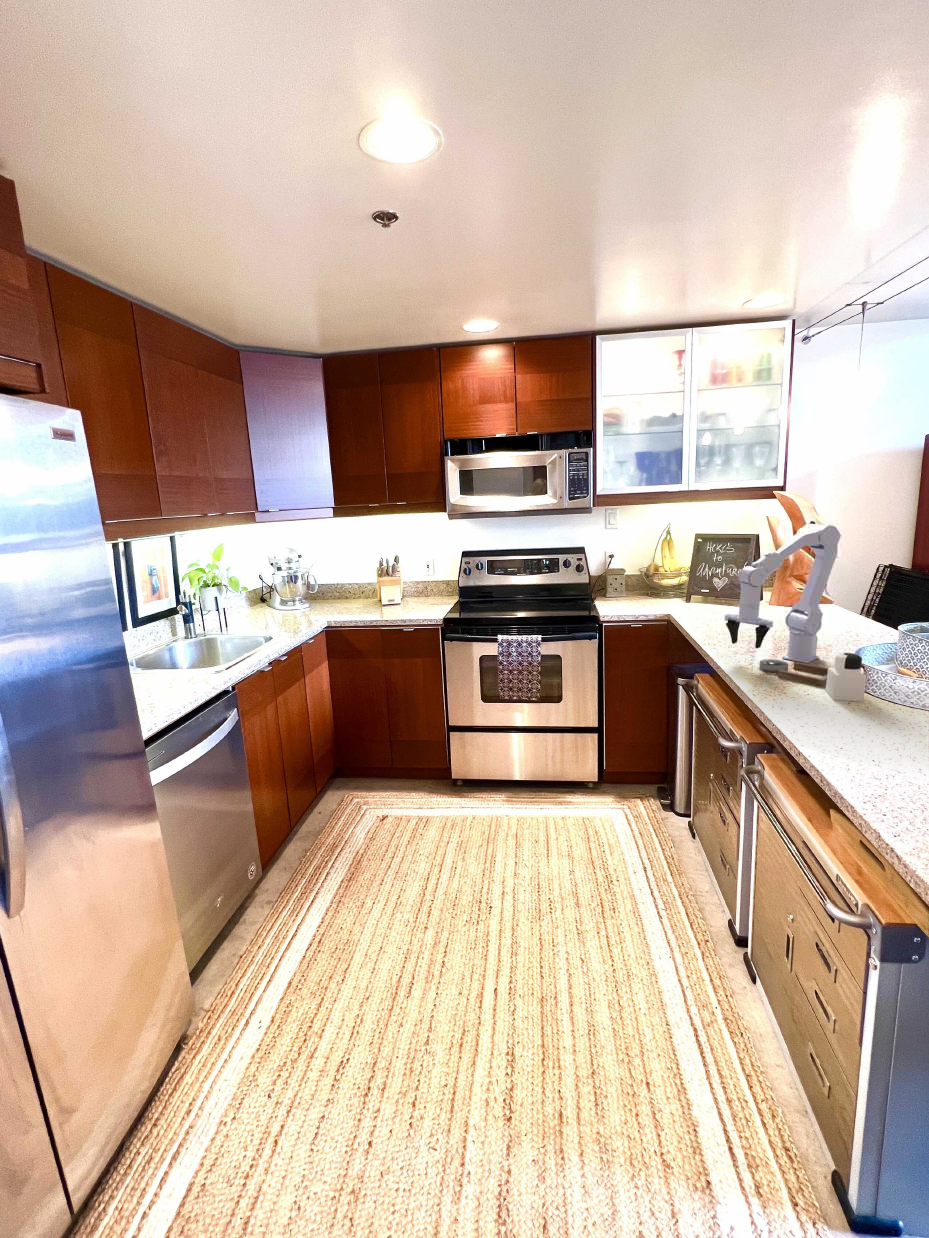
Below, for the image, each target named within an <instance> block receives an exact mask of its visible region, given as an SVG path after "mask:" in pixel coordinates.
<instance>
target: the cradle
mask: <svg viewBox="0 0 929 1238" xmlns="http://www.w3.org/2000/svg"><path fill="white" fill-rule="evenodd" d="M828 668H829V667H828ZM828 668H827V667H823V666H818V665H814V664H813V665H812V664H810V663H804V662H799V661H794V662H793V670H798V671H803V672H808V673H813V674H818V675H823V676H821V677H816V676H811V675H807V674H800V673H796V672H792V671H789V670H788V671H783V670H779V671H778V674H777V677H778V678H780V679H785V680H790V681H795V682H799V683H802V684H807V685H813V686H816V687H821V688H823V687H825V686H826V682H827V674H828Z"/></svg>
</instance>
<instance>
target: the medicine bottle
mask: <svg viewBox="0 0 929 1238" xmlns="http://www.w3.org/2000/svg"><path fill="white" fill-rule="evenodd" d="M862 663H863V658H862V657H861V656H860V655H858V654H856V653H851V652H840V653H836V655H835V658H834V666H833V667H828V674H827V682H826V685H825V692H826V694H828V695H829V696H830V697H831V699H832V700H834V701H844V702H847V701H848V702H864V699H865V691H866V690H865V689H866V685H867V684H866V683H867V676H866V675H864V674H863V673H862V672H861V670H862Z"/></svg>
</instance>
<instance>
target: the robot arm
mask: <svg viewBox="0 0 929 1238" xmlns="http://www.w3.org/2000/svg"><path fill="white" fill-rule="evenodd" d="M841 537H842V534H841V533H840V531H839V529H838V528H837V527H836V526H835V525H832V524H827V525H826V524H815V523H807V524H805V525H804V526H803V527H801V528H799V529H798V530H797V533H796V534H795V535H793V536H792V537H791V538H790V539H789V540H788V541H787V542H785V543H784V544H783V545H782V546H781V547H780V548H778V549H777V550H776V551H766V552H765V553H764V554H763V556H762V557H760V558H759V559H758V560H756V561H754V562H753V563H751V565H749V566H745V567H743V568H742V569H741V570H740V571H739V574H738V575H737V580H738V581H739V582H738V583H739V584H740V585H739V586H740V597H739V607H738V608H739V611H738V614H733V613H732V614H730V613H726V614H724V621H726V622H725V627H726V628H727V629H728V632H729V636H730V639H731V644H734V645H735V644H737V643H738V640H739V639H738V637H739V636H738V635H739V629H740V625H741V624H746V625H753V626H756V627H755V637H756V638H755V649H760V648H761V646H762V644H763V641H764V638H765V636H766V635H767V633H768V632H769V631H770V629H771V628H773V626H774V621H773V620H770V619H765V618H763V617H762V618H760V616H759V613H760V605H761V604H760V603H761V595H762V594H761V593H762V592H761V591H762V586H763V585H764V584H765V583H766V582H767V579H768V578H769V577H770V575H771V574H773V573H774V572H776V571H777V570H778V569H779V568H781V567H782V566H783V565H784V560H786V559H787V558H789V557H790V556H792V555H793V554H795V553H796V552H798V551H799V550H801V549H802V548H804V547H809V548H810V549H811V550H812V551H813V553H814V554H815V557H814V560H813V563H812V566H811V569H810V571H809V575H808V577H807V580H806V583H805V584H804V585H805V586H804V589H803V592H802V594H801V597H800V600H799V601H798V602H797V603H795V604H793V605H792V606H791V610H789V612H788V613H787V614H786V616H785V622H784V623H785V624H786V627H788V631H789V634H788V643H787V644H788V645H787V654H785V655H783V656H781V658H782V659H784V660H785V659H786V660H790V661H794V662H799V663H804V664H810V663H811V662H812V661H813V662H814V660H816V659H818V658H819V657H820V656H819V655H817V647H818V636H817V633H818V632H819V631H820V630H821V629H822V625H823V624H822V623H823V622H822V621H823V620H822V619H823V615H824V613H823V611H822V610H821V608H820V607H819V605H820V603H821V600H822V597H823V594H824V592H825V589H826V586H827V584H828V581H829V578H830V575H831V573H832V570H833V567H834V564H835V562H836V558H837V556H838V552H839V551H838V550H839V549H838V548H839V541H840V540H841V539H840V538H841Z"/></svg>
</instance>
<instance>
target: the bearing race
mask: <svg viewBox="0 0 929 1238" xmlns="http://www.w3.org/2000/svg"><path fill="white" fill-rule="evenodd" d="M758 669H759V670H760V671H761V670H762V672H764V673H769V674H774V673H775V674H777V675H778V671H779V670H783V671H788V672H789V663H788V662H787V661H784V660H779V659H771V658H769V659H768V658H766V659H761V660H759V666H758Z"/></svg>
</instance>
